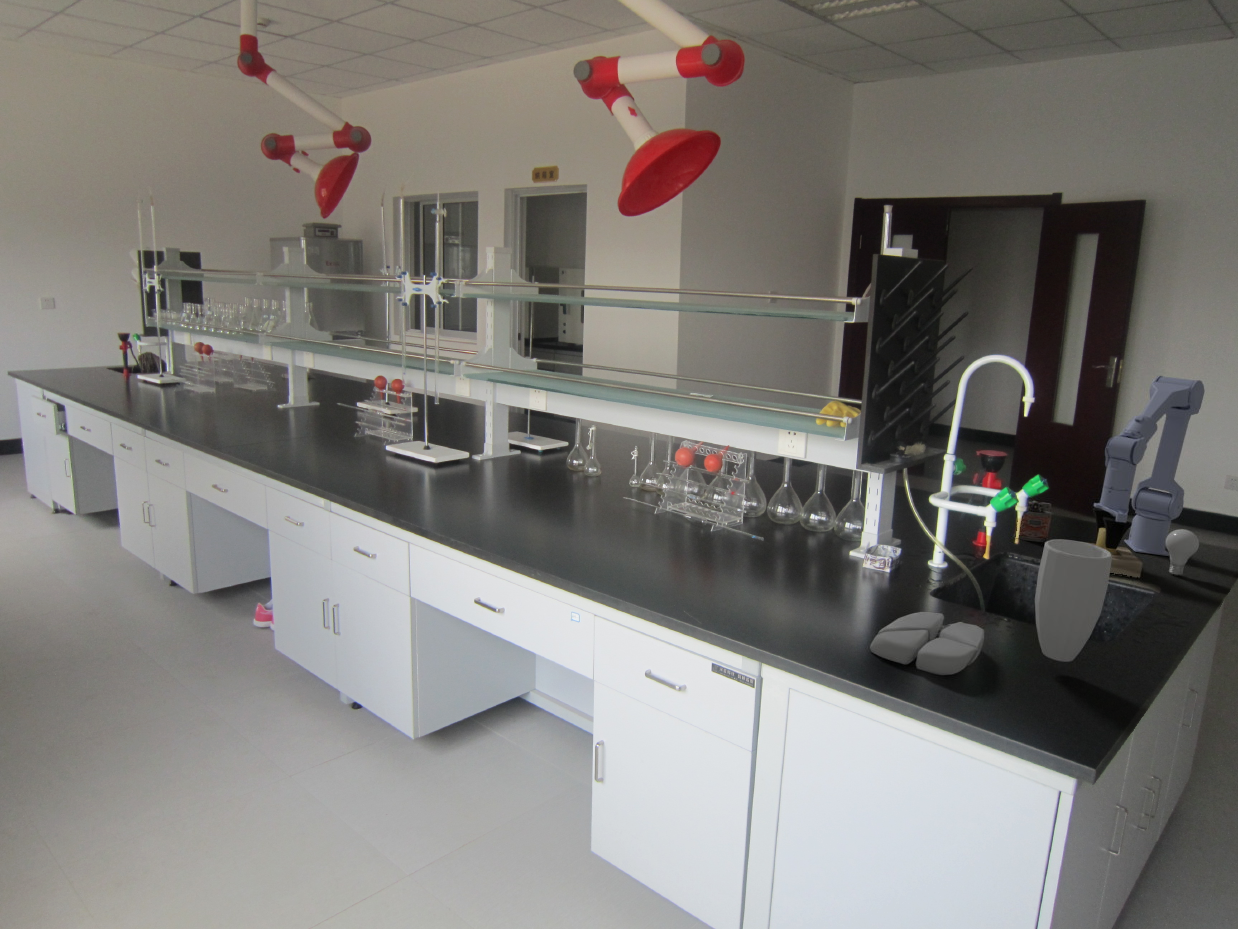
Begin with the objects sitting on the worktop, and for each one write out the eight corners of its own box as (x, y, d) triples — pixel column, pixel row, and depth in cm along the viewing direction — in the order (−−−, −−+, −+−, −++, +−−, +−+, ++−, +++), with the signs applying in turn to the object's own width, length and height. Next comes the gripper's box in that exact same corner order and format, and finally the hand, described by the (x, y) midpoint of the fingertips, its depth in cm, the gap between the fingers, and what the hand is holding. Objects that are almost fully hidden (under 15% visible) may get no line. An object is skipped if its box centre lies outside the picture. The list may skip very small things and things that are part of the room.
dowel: (1090, 559, 198) (1096, 527, 196) (1108, 561, 197) (1115, 529, 195) (1096, 564, 194) (1102, 531, 192) (1114, 566, 193) (1121, 533, 191)
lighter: (1015, 538, 212) (1021, 501, 210) (1012, 535, 215) (1018, 498, 213) (1049, 542, 210) (1056, 505, 208) (1045, 539, 214) (1052, 502, 211)
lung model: (858, 652, 140) (911, 624, 159) (961, 690, 129) (1005, 655, 148) (865, 615, 139) (918, 592, 158) (970, 651, 128) (1013, 621, 147)
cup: (1030, 651, 144) (1051, 534, 139) (1096, 672, 137) (1121, 550, 133) (1012, 670, 136) (1034, 546, 132) (1081, 693, 130) (1107, 564, 125)
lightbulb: (1185, 572, 193) (1195, 528, 190) (1195, 581, 187) (1206, 535, 184) (1154, 568, 195) (1164, 524, 192) (1164, 577, 189) (1174, 531, 186)
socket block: (1069, 554, 202) (1071, 540, 201) (1124, 561, 199) (1126, 547, 198) (1081, 569, 190) (1084, 555, 190) (1139, 577, 187) (1142, 563, 186)
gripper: (1090, 479, 199) (1080, 532, 202) (1106, 493, 185) (1095, 550, 189) (1122, 482, 197) (1112, 536, 200) (1142, 496, 184) (1130, 554, 187)
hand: (1106, 543), depth 194 cm, fingers open, 7 cm apart
